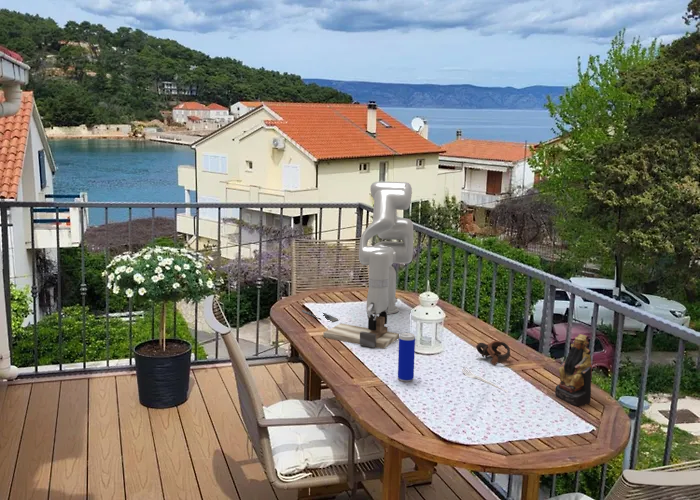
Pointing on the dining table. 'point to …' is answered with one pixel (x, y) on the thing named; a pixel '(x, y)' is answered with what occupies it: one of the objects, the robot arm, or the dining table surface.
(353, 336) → the board
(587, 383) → the statue
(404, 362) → the beverage can
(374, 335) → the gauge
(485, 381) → the fork
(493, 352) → the brown looped ornament
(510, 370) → the dining table surface
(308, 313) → the driftwood
